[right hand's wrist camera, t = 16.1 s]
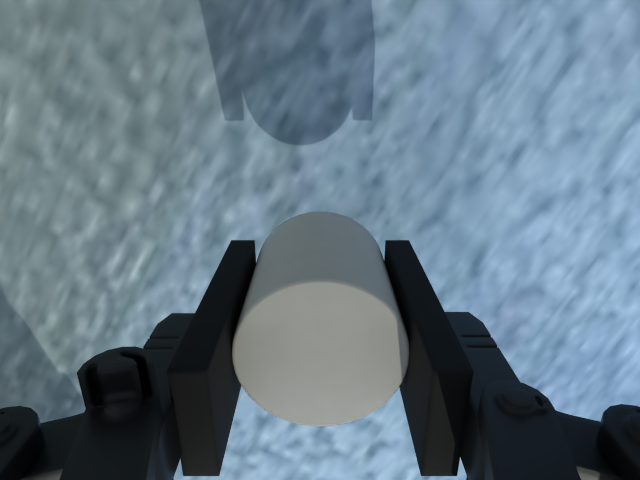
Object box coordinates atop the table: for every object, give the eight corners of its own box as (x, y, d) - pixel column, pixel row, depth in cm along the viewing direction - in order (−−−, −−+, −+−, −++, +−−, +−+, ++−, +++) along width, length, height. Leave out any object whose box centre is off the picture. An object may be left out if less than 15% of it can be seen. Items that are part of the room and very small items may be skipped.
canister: (234, 243, 15) (197, 323, 10) (353, 189, 14) (368, 250, 9) (292, 341, 16) (282, 448, 12) (402, 297, 15) (435, 392, 11)
